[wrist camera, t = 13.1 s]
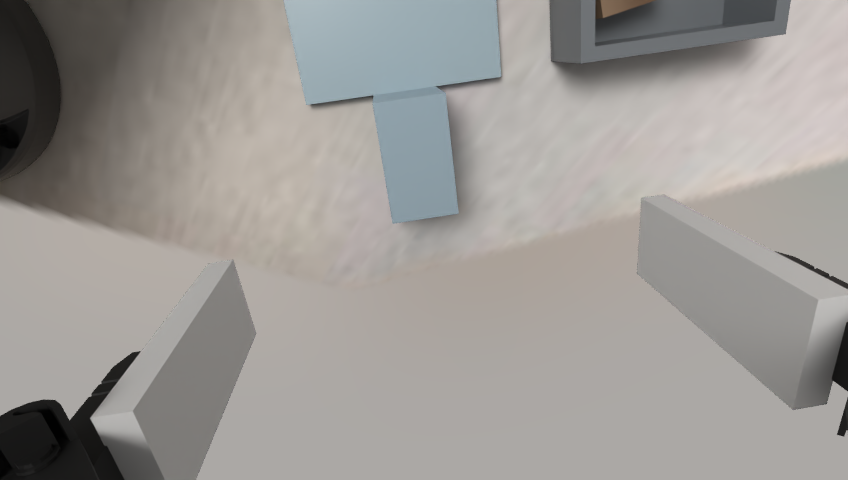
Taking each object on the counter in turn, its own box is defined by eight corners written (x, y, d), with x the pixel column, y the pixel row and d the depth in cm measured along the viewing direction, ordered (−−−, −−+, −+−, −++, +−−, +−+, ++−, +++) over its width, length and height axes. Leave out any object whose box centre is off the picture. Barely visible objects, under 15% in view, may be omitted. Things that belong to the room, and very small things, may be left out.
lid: (330, 204, 34) (320, 234, 28) (237, -224, 25) (196, -303, 19) (504, 177, 34) (528, 202, 29) (475, -253, 25) (502, -338, 20)
